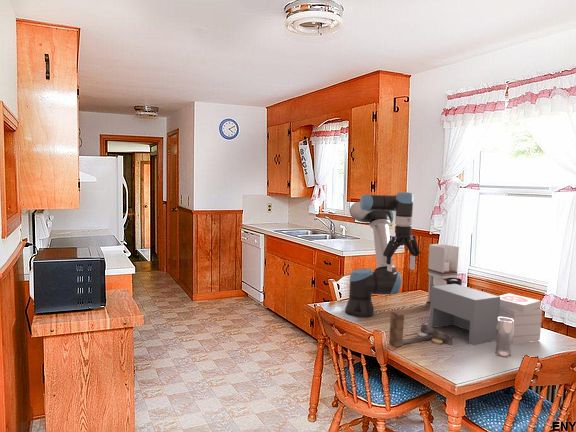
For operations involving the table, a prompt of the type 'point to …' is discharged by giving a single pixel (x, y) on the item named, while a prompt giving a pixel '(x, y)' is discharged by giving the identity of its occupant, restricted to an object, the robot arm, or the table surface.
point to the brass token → (437, 340)
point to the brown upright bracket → (397, 338)
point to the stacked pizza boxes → (522, 316)
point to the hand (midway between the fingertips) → (400, 270)
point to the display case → (441, 265)
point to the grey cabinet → (465, 311)
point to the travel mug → (454, 281)
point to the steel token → (422, 333)
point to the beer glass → (504, 336)
